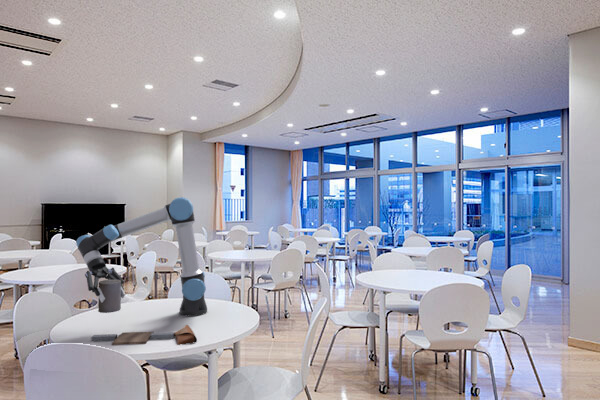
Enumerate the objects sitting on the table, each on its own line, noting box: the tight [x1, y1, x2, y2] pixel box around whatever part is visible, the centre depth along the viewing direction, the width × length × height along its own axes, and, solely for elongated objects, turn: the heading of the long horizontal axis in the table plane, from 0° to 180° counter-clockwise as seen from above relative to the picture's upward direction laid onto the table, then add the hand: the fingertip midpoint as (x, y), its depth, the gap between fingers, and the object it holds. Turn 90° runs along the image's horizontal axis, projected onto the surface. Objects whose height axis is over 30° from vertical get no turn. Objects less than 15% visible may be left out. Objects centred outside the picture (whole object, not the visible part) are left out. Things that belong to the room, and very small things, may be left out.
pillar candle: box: [97, 279, 122, 314], centre depth 190 cm, size 10×10×15 cm
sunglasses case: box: [174, 324, 198, 346], centre depth 182 cm, size 18×7×7 cm
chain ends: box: [90, 331, 176, 342], centre depth 181 cm, size 35×3×2 cm, turn 97°
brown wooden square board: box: [111, 331, 155, 346], centre depth 181 cm, size 14×14×1 cm
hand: (113, 298), depth 188 cm, fingers closed on pillar candle, 9 cm apart
